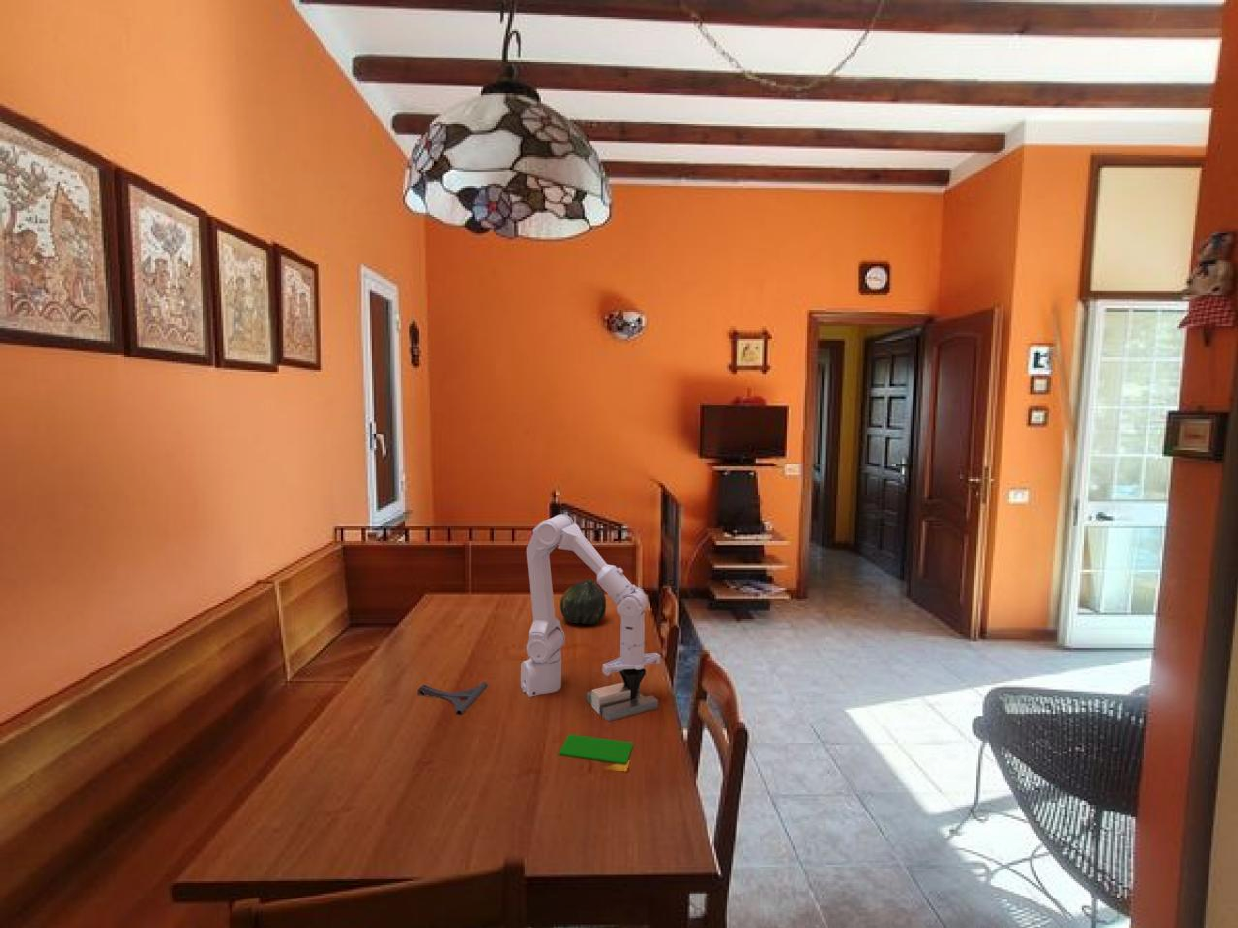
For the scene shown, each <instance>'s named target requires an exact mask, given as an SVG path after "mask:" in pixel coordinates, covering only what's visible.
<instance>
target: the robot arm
mask: <svg viewBox="0 0 1238 928" xmlns="http://www.w3.org/2000/svg"><path fill="white" fill-rule="evenodd" d="M556 548H558V549H559V550H565V551H572V552H574V553H575V555H577V556H578V558H580V560H582V562H583V563H585V565H586V566H588V567H589V569H590V570H592V571H593V573H595V574H596V583H597V584H598V585H599V586H600V588H601V589H602V591H603V592H605V593H606V594H607V595H608V596H609V597H610V599H611V600H612V601H613V602H614V603H615V604H616V610H617V613H618V615H619V616H620V625H619V626H620V628H619V631H620V632H619V633H620V634H619V657H617V658H615V659H614V660H611V661H609V662H607V663H603V664H602V673H603V674H604V675H605V676H610V675H611V674H613V673H618V672H619V674H620V677H621V678H622V681H623V683H624V684H625V686H627V687H628V688H629V689H630V690H631V691H630V699H631V700H633V699H636V696H637V692H638V689H639V686H640V687H641V684H642V683H641V682H642V680H643V679H644V678H645V676H646V674H647V669H645V666H649V665H651V664H656V665H658V664H660V663H661V655H660V654H659V653H657V652H652V653H651V652H650V653H645V644H646V643H645V637H646V635H645V633H646V632H645V631H646V629H645V628H646V623H645V618H646V617H645V609H646V608H647V606H648V604H649V602H648V601H649V599H648V596H647V594H646V592H645V591H644V589H642V587H641V588H640V587H638V586H636V585H635V584H632V583H631V581H629V579H628V578H627V577H626V576H625V574H623V573H624V570H623V569H622V568H621V567H617V565H614V564H613V565H612V564H607V562H606V561H605V560H604V559H603V557H602V556H601V555H600V554H599V552H598V551H597V550H596V549H595V547H594V546H593V545H592V544H591V543H590V541H589V540H588V539H587V538H586V536H585V535H584V533H583V532H582V530H581V528H580V525H578V523H576V522H574V520H573V519H572V518H571V517H570V516H569V515H567V514H562V513H561V514H557V515H555V516H554V517H552V518H549V519H546V520H543V521H541V522H540V523H538V524H537V525H536V526H535V527H534V528H533V529H532V535H531V537H530V540H529V542H528V545H527V546H526V560H527V569H528V579H529V580H528V581H529V590H530V591H529V592H530V600H531V602H530V603H531V610H532V612H531V613H532V623H531V626H530V629H529V632H528V641H527V645H526V652H527V655H528V657H529V659H527V660H524V661H522V662H521V664H520V687H521V689H522V691H523V693H526V695H527V696H528V697H529V698H530V697H534V696H538V695H549V694H553V693H556V692H558V691H559V690H560V689H561V687H562V678H561V677H562V653H561V648H562V647H563V646H564V644H565V641H566V636H565V635H566V634H565V632H564V631H563V629H562V627H561V621H560V620H559V619H558V618H557V617H556V611H555V600H554V591H553V580H552V570H551V559H550V558H551V557H550V554H551V553H552V552H553V551H554V550H555V549H556Z"/></svg>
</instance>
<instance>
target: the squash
mask: <svg viewBox="0 0 1238 928" xmlns="http://www.w3.org/2000/svg"><path fill="white" fill-rule="evenodd" d="M559 601H560V602H559V603H560V604H559V608H560V613H561V616H562V617H563V619H564V620H565V621H566V622H567V623H571V624H572V623H573V624H578V625H579V624H580V623H581V625H583V624H584V625H585V624H587V625H590V626H591V625H595V624H597V623H598V622H600V621H601V620H602V619H603V617H604V616H605V614H606V611H607V609H606V608H607V598H606V595H605V593H604V590H603V589H602V588H601V587H599V586H598V585H597V584H596V583H595V582H594V581H593V580H590V579H587V580H583V581H580V582H578V583H575V584H574V585H571V586H570V587H568V588H567V589H566V590H565V591H564V593H563V594H562V596H561V598H560V600H559Z"/></svg>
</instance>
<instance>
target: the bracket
mask: <svg viewBox="0 0 1238 928" xmlns="http://www.w3.org/2000/svg"><path fill="white" fill-rule="evenodd" d="M487 688H488V682H487V681H483V682H481V684H479V685H477V686H475V687H473V688H469V689H466V690H463V691H454V692H448V691H443V690H439V689H436V688H433V687H430V686H428V685H425V684H422V685H421V686H420V687H419V688H418V689H417V692H416V693H417V695H418V694H420V695H419V696H424V695H429V696H428V697H433V696H436V697H435V698H441V699H445V700H446V701H449V702H451V704H452V705H453V706H454V709H455V710H454V711H455V712H456V713H455V715H458V714H459V713H460V715H461V714H463V713H464V714H465V713H466V711H467V710H468V709H469V708H470V707H471V706H472V705H473V703H475V701H476V700H478V698H479V696H481V694H482V693H483V692H484V691H485V690H486V689H487ZM484 689H485V690H484ZM421 692H422V693H421ZM423 692H424V694H423ZM421 694H423V695H421ZM477 697H478V698H477ZM462 700H463V701H464V702H463V701H462ZM470 705H471V706H470ZM467 708H468V709H467ZM466 709H467V710H466ZM465 710H466V711H465ZM459 711H460V712H459ZM458 712H459V713H458ZM457 713H458V714H457ZM464 714H463V715H464Z"/></svg>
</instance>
